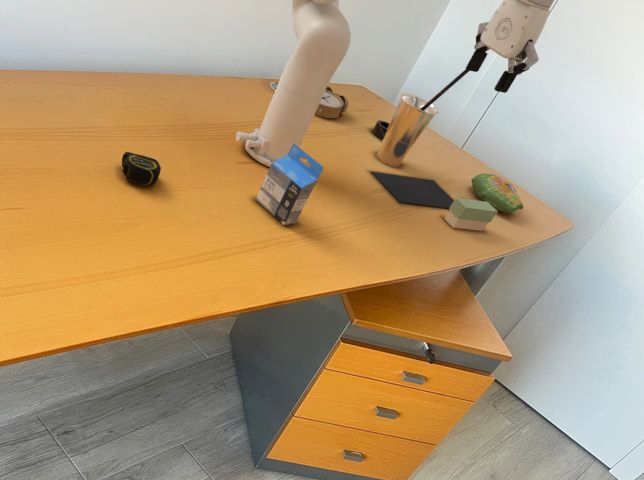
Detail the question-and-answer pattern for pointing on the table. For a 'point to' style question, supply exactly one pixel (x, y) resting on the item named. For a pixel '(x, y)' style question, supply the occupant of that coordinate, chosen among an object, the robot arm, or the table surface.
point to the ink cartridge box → (289, 185)
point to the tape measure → (140, 168)
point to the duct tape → (380, 129)
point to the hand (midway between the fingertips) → (485, 80)
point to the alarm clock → (331, 104)
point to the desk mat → (415, 190)
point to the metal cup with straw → (408, 125)
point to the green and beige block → (470, 214)
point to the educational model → (497, 192)
